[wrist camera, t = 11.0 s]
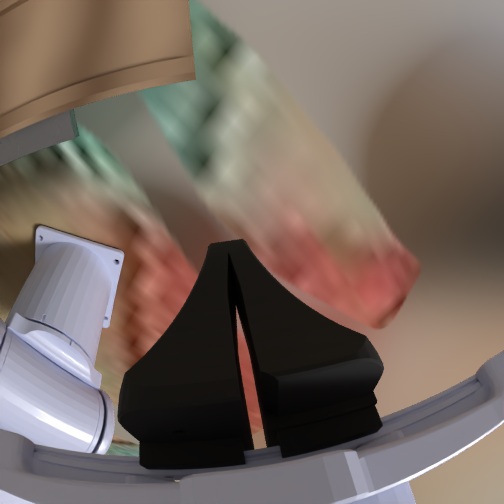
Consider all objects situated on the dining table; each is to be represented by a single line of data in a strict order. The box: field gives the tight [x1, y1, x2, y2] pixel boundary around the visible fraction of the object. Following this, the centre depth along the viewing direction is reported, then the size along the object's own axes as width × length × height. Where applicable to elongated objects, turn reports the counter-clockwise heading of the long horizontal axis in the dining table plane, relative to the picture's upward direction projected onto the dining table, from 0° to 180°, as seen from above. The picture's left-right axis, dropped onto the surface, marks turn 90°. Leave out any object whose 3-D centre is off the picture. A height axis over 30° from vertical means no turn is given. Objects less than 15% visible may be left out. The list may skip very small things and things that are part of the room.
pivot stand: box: [0, 109, 79, 166], centre depth 11 cm, size 8×13×3 cm, turn 4°
